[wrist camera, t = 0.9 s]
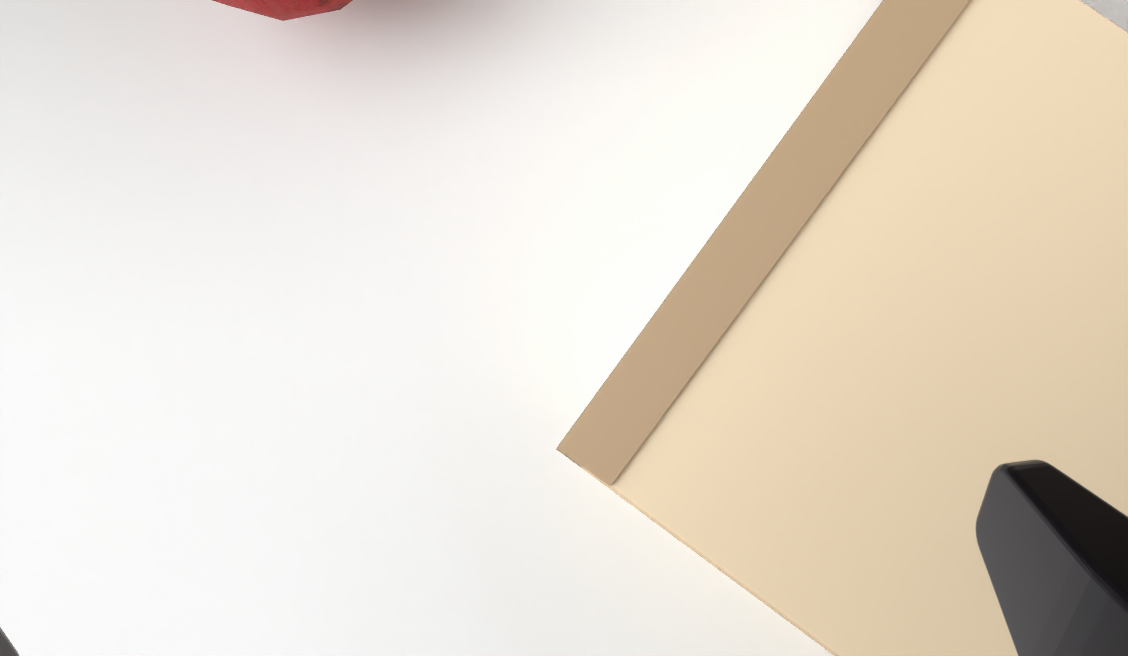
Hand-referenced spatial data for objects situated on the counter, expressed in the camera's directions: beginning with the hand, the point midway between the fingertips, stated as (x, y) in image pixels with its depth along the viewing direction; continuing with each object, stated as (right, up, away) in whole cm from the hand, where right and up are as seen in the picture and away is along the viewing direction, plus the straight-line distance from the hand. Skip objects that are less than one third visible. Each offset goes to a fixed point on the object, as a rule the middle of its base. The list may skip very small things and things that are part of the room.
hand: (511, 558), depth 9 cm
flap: (+8, +1, +9) cm, 12 cm away
